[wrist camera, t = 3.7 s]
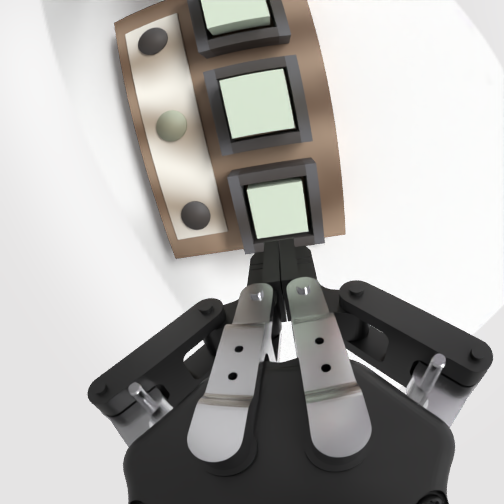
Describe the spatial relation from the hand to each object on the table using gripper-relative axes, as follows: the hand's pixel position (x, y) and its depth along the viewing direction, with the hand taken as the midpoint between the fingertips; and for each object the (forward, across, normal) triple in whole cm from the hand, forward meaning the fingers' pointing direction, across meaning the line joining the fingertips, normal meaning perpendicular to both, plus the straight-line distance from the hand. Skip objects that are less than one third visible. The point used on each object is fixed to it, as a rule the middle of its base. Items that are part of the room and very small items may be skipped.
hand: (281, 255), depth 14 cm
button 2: (+9, 0, 0) cm, 9 cm away
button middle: (+7, 0, -8) cm, 11 cm away
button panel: (+12, +2, -8) cm, 14 cm away
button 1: (+8, 0, -16) cm, 17 cm away
